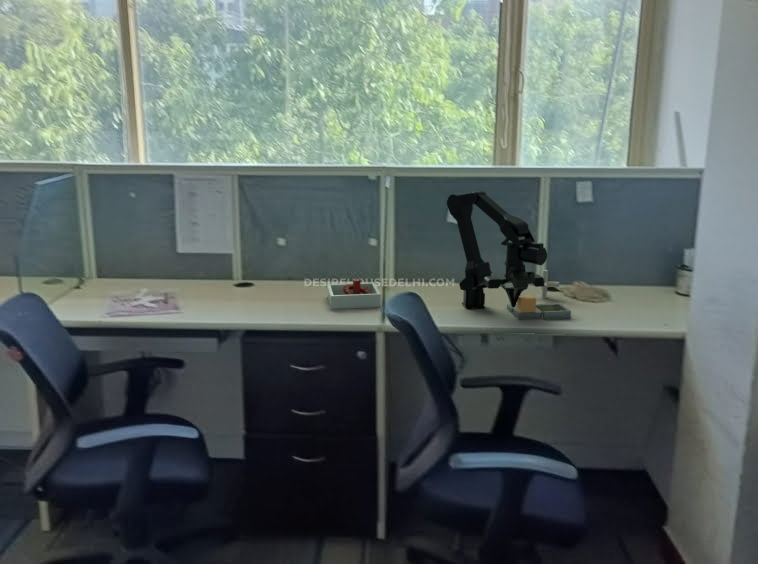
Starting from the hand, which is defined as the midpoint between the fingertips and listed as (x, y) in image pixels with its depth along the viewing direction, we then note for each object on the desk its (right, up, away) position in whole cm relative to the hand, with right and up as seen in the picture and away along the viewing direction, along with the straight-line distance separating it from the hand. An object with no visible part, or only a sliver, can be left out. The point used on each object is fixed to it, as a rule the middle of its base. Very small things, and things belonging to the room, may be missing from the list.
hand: (513, 307), depth 239 cm
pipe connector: (+15, +2, +24) cm, 28 cm away
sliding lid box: (+9, -3, +2) cm, 10 cm away
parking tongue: (+3, -1, +8) cm, 9 cm away
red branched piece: (-50, +1, +19) cm, 54 cm away
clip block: (+4, -1, +1) cm, 5 cm away
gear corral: (-53, +1, +19) cm, 56 cm away
